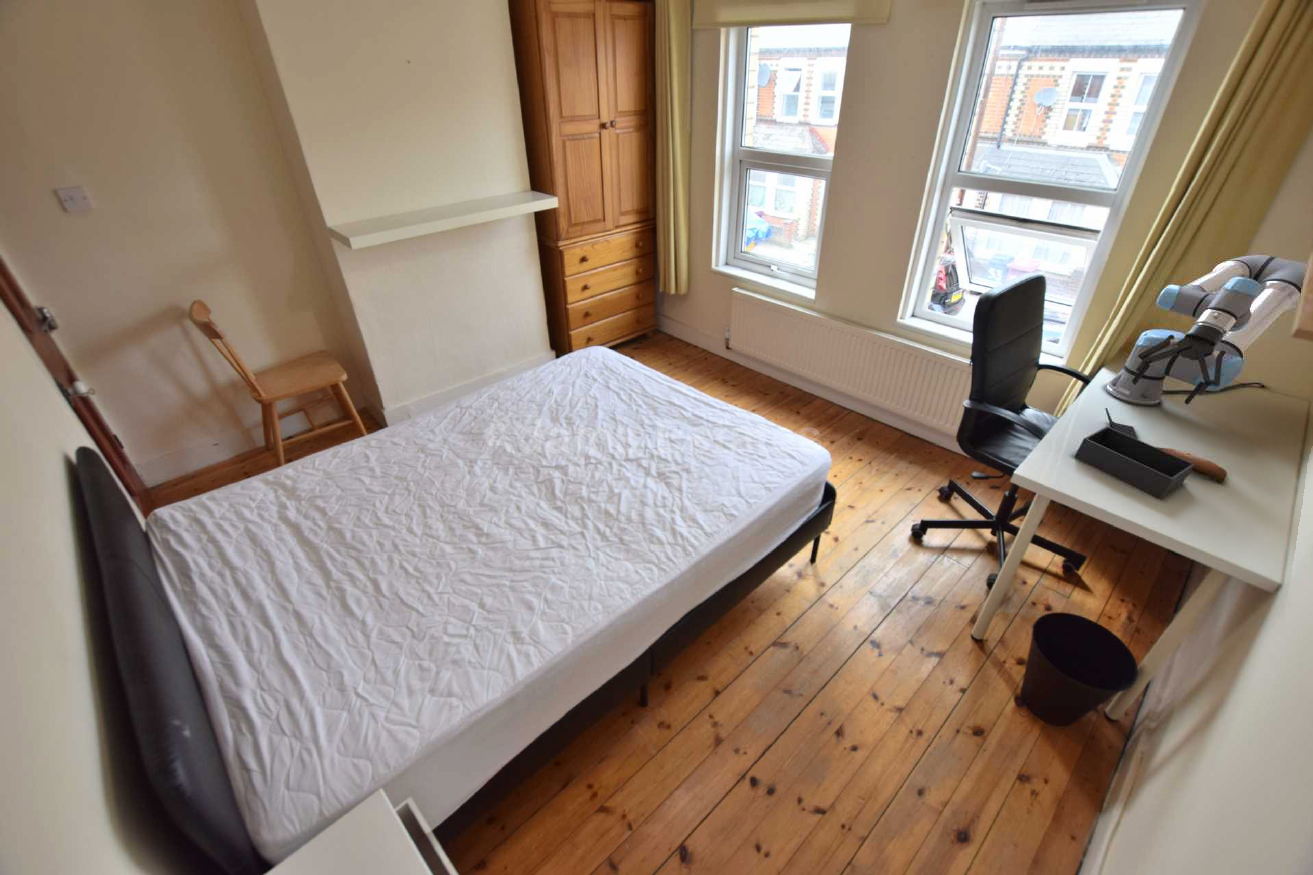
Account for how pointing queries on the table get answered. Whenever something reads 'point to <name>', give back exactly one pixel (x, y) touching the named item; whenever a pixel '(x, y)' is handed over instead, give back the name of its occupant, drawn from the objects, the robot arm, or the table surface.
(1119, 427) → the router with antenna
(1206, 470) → the sunglasses case
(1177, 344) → the robot arm
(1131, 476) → the bin
